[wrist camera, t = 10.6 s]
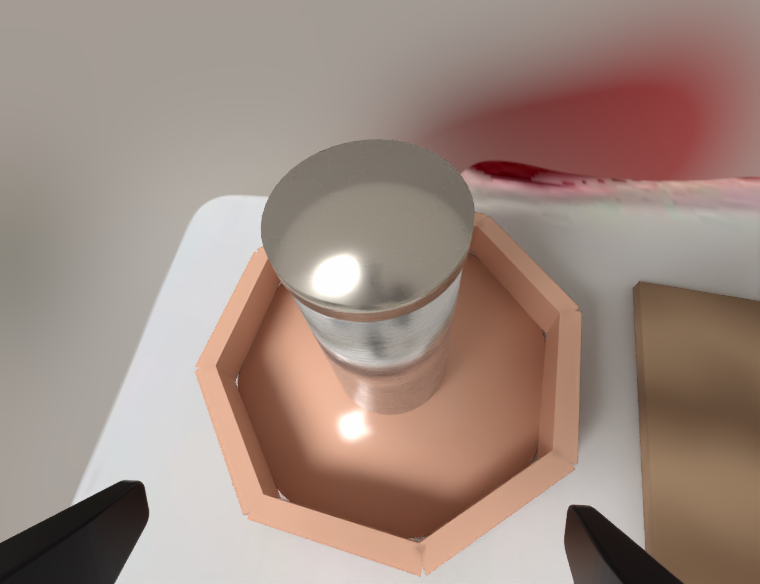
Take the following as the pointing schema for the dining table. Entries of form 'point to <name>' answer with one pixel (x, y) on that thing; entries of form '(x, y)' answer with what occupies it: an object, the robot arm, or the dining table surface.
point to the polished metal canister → (374, 263)
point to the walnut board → (699, 432)
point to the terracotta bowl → (399, 415)
